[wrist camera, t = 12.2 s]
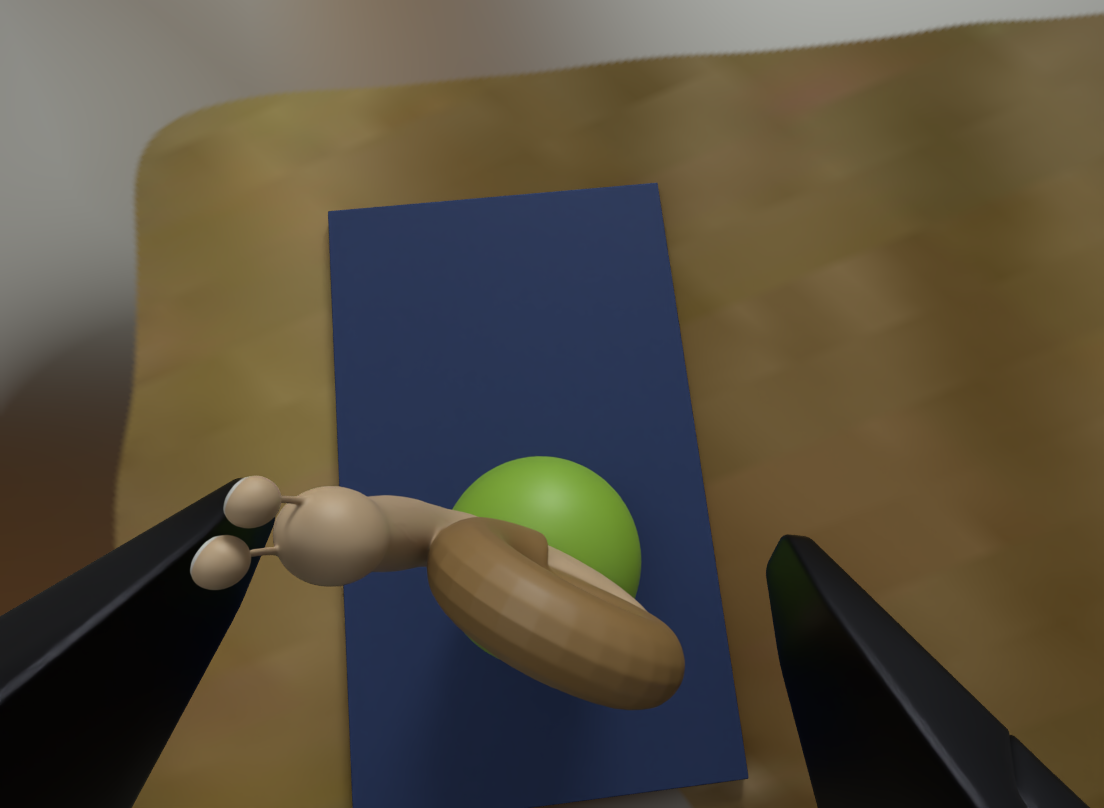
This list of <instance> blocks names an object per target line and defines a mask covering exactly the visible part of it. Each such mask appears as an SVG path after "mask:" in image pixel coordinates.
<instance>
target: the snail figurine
mask: <svg viewBox="0 0 1104 808" xmlns="http://www.w3.org/2000/svg"><path fill="white" fill-rule="evenodd" d="M281 503H287V504H286V505H285V506H284V507H283V508H282V510H281V511H280V513H279V514H278V516H277V518H276V521H275V524H274V528H273V542H274V547H267V548H260V549H253V550H249V548H248V546H247V545H246V543H245V542H244V541H242V540H241V539H239V538H237V537H235V536H231V535H222V536H216V537H213V538H211V539H209V540H208V541H207V542H205V543H204V544H203V545H202V546H201V547H200V549H199V550H198V551H197V553H196V554H195V556H194V558H193V560H192V563H191V568H190V573H191V576H192V579H193V581H194V582H195V583H196V584H197V585H199V586H200V587H202V588H205V589H209V590H221V589H225V588H228V587H230V586H232V585H234V584H236V583H237V582H239V581H240V580H241V579H242V578H243V577H244V576H245V574H246V573H247V571H248V569H249V567H250V563H251V557H254V556H262V555H276V556H278V557H279V559H280V561H281V562H282V564H283V565H284V566H285V567H286V569H287V570H288V571H289V572H291V573H292V574H293V575H294V576H296V577H297V578H299V579H301V580H303V581H305V582H308V583H310V584H314V585H319V586H341V585H346V584H350V583H353V582H355V581H358V580H360V579H362V578H363V577H365V576H367V575H368V574H369V573H371V572H393V571H401V570H407V569H412V568H416V567H427V576H428V582H429V586H430V589H431V592H432V594H433V596H434V597H435V599H436V601H437V602H438V604H439V605H440V607H441V608H442V610H443V611H444V612H445V614H446V615H447V616H448V617H449V618H450V619H451V620H452V621H453V622H454V624H455V625H456V626H457V627H458V628H460V629H461V630H462V631H463V632H464V633H465V634H466V635H467V636H468V638H469V639H470V640H471V641H473V642H474V643H475V644H476V645H477V646H478V647H480V648H481V649H482V650H484V651H485V652H487V653H488V654H490V655H492V656H494V657H496V658H498V659H500V660H502V661H503V662H505V663H506V664H508V665H509V666H511V667H513V668H515V669H516V670H518V671H520V672H522V673H524V674H525V675H527V676H529V677H531V678H533V679H535V680H537V681H539V682H541V683H543V684H545V685H548V686H550V687H552V688H555V689H557V690H560V691H562V692H565V693H567V694H569V695H572V696H575V697H577V698H580V699H583V700H586V701H589V702H592V703H595V704H598V705H602V706H606V707H610V708H615V709H623V710H643V709H650V708H655V707H657V706H659V705H661V704H663V703H664V702H666V701H667V700H669V699H670V698H671V697H672V696H673V695H674V694H675V693H676V691H677V690H678V688H679V687H680V685H681V683H682V680H683V677H684V671H685V659H684V654H683V650H682V647H681V644H680V642H679V640H678V638H677V637H676V635H675V634H674V632H673V631H672V630H671V629H670V628H669V627H668V626H667V625H666V624H665V623H664V622H662V621H661V620H660V619H658V618H657V617H655V616H654V615H652V614H650V613H649V612H647V611H646V610H645V609H644V607H643V606H642V605H641V604H639V603H638V602H637V601H636V600H635V597H636V593H637V590H638V586H639V581H640V574H641V549H640V542H639V537H638V533H637V529H636V526H635V523H634V521H633V518H632V516H631V514H630V512H629V510H628V508H627V506H626V505H625V503H624V502H623V500H622V499H621V497H620V496H619V495H618V493H617V492H616V491H615V490H614V489H613V488H612V487H611V486H610V485H609V484H608V483H607V482H606V481H605V480H604V479H603V478H601V477H600V476H599V475H597V474H596V473H594V472H593V471H591V470H590V469H588V468H586V467H584V466H582V465H580V464H577V463H575V462H572V461H569V460H565V459H561V458H556V457H547V456H534V457H525V458H520V459H516V460H512V461H509V462H506V463H504V464H501V465H499V466H497V467H495V468H493V469H491V470H490V471H488V472H487V473H485V474H484V475H482V476H481V477H480V478H478V479H477V480H476V481H475V482H474V483H473V484H472V485H470V486H469V487H468V489H467V490H466V491H465V492H464V493H463V494H462V496H461V497H460V498H459V500H458V501H457V503H456V504H455V506H454V507H453V509H452V510H450V509H446V508H443V507H440V506H436V505H433V504H429V503H426V502H423V501H420V500H417V499H413V498H408V497H401V496H391V495H381V496H370V497H367V496H365V495H364V494H362V493H360V492H358V491H355V490H352V489H349V488H345V487H338V486H324V487H318V488H314V489H311V490H308V491H306V492H304V493H302V494H300V495H298V496H296V497H294V496H281V493H280V490H279V489H278V487H277V486H276V484H275V483H274V482H272V481H271V480H269V479H267V478H265V477H261V476H251V477H246V478H243V479H241V480H240V481H238V482H237V483H236V484H235V485H234V486H233V487H232V488H231V490H230V491H229V493H228V494H227V496H226V498H225V501H224V508H223V509H224V514H225V515H226V518H227V519H228V520H229V521H230V522H231V523H232V524H234V525H236V526H238V527H242V528H256V527H260V526H262V525H264V524H266V523H268V522H269V521H271V520H272V519H273V518H274V517H275V516H276V514H277V513H278V511H279V509H280V506H281Z"/></svg>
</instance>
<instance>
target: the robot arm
mask: <svg viewBox="0 0 1104 808" xmlns="http://www.w3.org/2000/svg"><path fill="white" fill-rule="evenodd" d="M241 479H243V478H237V479H235V480H233V481H231V482H229V483H227V484H226V485H224V486H222V487H220V488H219V489H217V490H215V491H214V492H212V493H210V494H208V495H207V496H205V497H203V498H202V499H200V500H198V501H197V502H195V503H193V504H191V505H190V506H188V507H186V508H185V509H183V510H181V511H179V512H178V513H176V514H174V515H173V516H171V517H169V518H168V519H166V520H164V521H162V522H161V523H159V524H157V525H156V526H154V527H152V528H150V529H149V530H147V531H145V532H144V533H142V534H140V535H138V536H137V537H135V538H133V539H132V540H130V541H128V542H127V543H125V544H123V545H121V546H120V547H118V548H116V549H115V550H113V551H111V552H109V553H108V554H106V555H104V556H103V557H101V558H99V559H98V560H96V561H94V562H92V563H91V564H89V565H87V566H86V567H84V568H82V569H81V570H79V571H77V572H75V573H74V574H72V575H70V576H68V577H67V578H65V579H63V580H62V581H60V582H58V583H57V584H55V585H53V586H51V587H50V588H48V589H46V590H45V591H43V592H41V593H40V594H38V595H36V596H34V597H33V598H31V599H29V600H28V601H26V602H24V603H23V604H21V605H19V606H17V607H16V608H14V609H12V610H10V611H9V612H7V613H5V614H4V615H2V616H0V808H132V806H133V804H134V802H135V801H136V799H137V797H138V795H139V793H140V791H141V789H142V788H143V786H144V784H145V782H146V780H147V778H148V777H149V775H150V773H151V771H152V769H153V767H154V765H155V764H156V762H157V760H158V758H159V756H160V754H161V752H162V751H163V749H164V747H165V745H166V743H167V741H168V739H169V738H170V736H171V734H172V732H173V730H174V728H175V727H176V725H177V723H178V721H179V719H180V717H181V715H182V714H183V712H184V710H185V708H186V706H187V704H188V702H189V701H190V699H191V697H192V695H193V693H194V691H195V690H196V688H197V686H198V684H199V682H200V680H201V678H202V677H203V675H204V673H205V671H206V669H207V667H208V665H209V664H210V662H211V660H212V658H213V656H214V654H215V652H216V651H217V649H218V647H219V645H220V643H221V641H222V640H223V638H224V636H225V634H226V632H227V630H228V628H229V627H230V625H231V623H232V621H233V619H234V617H235V615H236V613H237V611H238V609H239V607H240V605H241V603H242V601H243V598H244V596H245V594H246V591H247V589H248V587H249V584H250V582H251V579H252V577H253V574H254V572H255V569H256V567H257V565H258V562H259V560H260V557H261V556H254V557H251V563H250V567H249V569H248V571H247V573H246V574H245V576H244V577H243V578H242V579H241V580H240V581H239V582H237V583H236V584H234V585H232V586H230V587H228V588H225V589H221V590H209V589H205V588H202V587H200V586H199V585H197V584H196V583H195V582H194V581H193V579H192V576H191V573H190V568H191V563H192V560H193V558H194V556H195V554H196V553H197V551H198V550H199V549H200V547H201V546H202V545H203V544H204V543H205V542H207V541H208V540H209V539H211V538H213V537H216V536H222V535H231V536H235V537H237V538H239V539H241V540H242V541H244V542H245V543H246V545H247V546H248V548H249V550H253V549H260V548H265V545H266V543H267V540H268V538H269V535H270V533H271V531H272V528H273V525H274V521H275V517H274V518H273V519H272V520H271V521H269V522H268V523H266V524H264V525H262V526H260V527H256V528H242V527H238V526H236V525H234V524H232V523H231V522H230V521H229V520H228V519H227V518H226V515H225V514H224V509H223V508H224V501H225V498H226V496H227V494H228V493H229V491H230V490H231V488H232V487H233V486H234V485H235V484H236V483H237V482H238V481H240V480H241ZM766 578H767V585H768V591H769V598H770V604H771V611H772V617H773V624H774V630H775V637H776V644H777V650H778V655H779V661H780V666H781V670H782V674H783V678H784V682H785V686H786V689H787V693H788V697H789V701H790V704H791V708H792V712H793V716H794V720H795V723H796V727H797V731H798V735H799V738H800V742H801V746H802V750H803V753H804V757H805V761H806V765H807V769H808V772H809V776H810V780H811V784H812V787H813V791H814V795H815V799H816V803H817V806H818V808H1090V807H1089V806H1087V805H1086V804H1085V803H1084V802H1083V801H1082V800H1081V799H1080V798H1079V797H1078V796H1077V795H1076V794H1075V793H1074V792H1073V791H1071V790H1070V789H1069V788H1068V787H1067V786H1066V785H1065V784H1064V783H1063V782H1062V781H1061V780H1060V779H1059V778H1058V777H1057V776H1056V775H1055V774H1053V773H1052V772H1051V771H1050V770H1049V769H1048V768H1047V767H1046V766H1045V765H1044V764H1043V763H1042V762H1041V761H1040V760H1039V759H1038V758H1037V757H1036V756H1035V755H1034V754H1033V753H1032V752H1031V751H1029V750H1028V749H1027V748H1026V747H1025V746H1024V745H1023V744H1022V743H1021V742H1020V741H1019V740H1018V739H1017V738H1016V737H1015V736H1013V735H1009V731H1008V729H1007V728H1006V727H1005V726H1004V725H1002V724H1001V723H1000V722H999V721H998V720H997V719H996V718H995V717H994V716H993V715H992V714H991V713H990V712H989V711H988V710H987V709H986V708H985V707H984V706H983V705H982V704H981V703H980V702H979V701H978V700H977V699H976V698H975V697H974V696H973V695H972V694H971V693H970V692H969V691H967V690H966V689H965V688H964V687H963V686H962V685H961V684H960V683H959V682H958V681H957V680H956V679H955V678H954V677H953V676H952V675H951V674H950V673H949V672H948V671H947V670H946V669H945V668H944V667H943V666H942V665H941V664H940V663H939V662H938V661H937V660H936V659H935V658H934V657H932V656H931V655H930V654H929V653H928V652H927V651H926V650H925V649H924V648H923V647H922V646H921V645H920V644H919V643H918V642H917V641H916V640H915V639H914V638H913V637H912V636H911V635H910V634H909V633H908V632H907V631H906V630H905V629H904V628H903V627H902V626H901V625H900V624H899V623H897V622H896V621H895V620H894V619H893V618H892V617H891V616H890V615H889V614H888V613H887V612H886V611H885V610H884V609H883V608H882V607H881V606H880V605H879V604H878V603H877V602H876V601H875V600H874V599H873V598H872V597H871V596H870V595H869V594H868V593H867V592H866V591H865V590H864V589H862V588H861V587H860V586H859V585H858V584H857V583H856V582H855V581H854V580H853V579H852V578H851V577H850V576H849V575H848V574H847V573H846V572H845V571H844V570H843V569H842V568H841V567H840V566H839V565H838V564H837V563H836V562H835V561H834V560H833V559H832V558H831V557H830V556H829V555H827V554H826V553H825V552H824V551H823V550H822V549H821V548H820V547H819V546H818V545H817V544H816V543H815V542H814V541H813V540H812V539H810V538H809V537H806V536H798V535H784V536H783V537H781V539H780V541H779V542H778V544H777V546H776V548H775V550H774V552H773V554H772V556H771V558H770V560H769V562H768V564H767V569H766Z"/></svg>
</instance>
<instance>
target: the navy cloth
mask: <svg viewBox="0 0 1104 808" xmlns="http://www.w3.org/2000/svg"><path fill="white" fill-rule="evenodd" d="M328 221H329V245H330V270H331V294H332V318H333V342H334V366H335V391H336V415H337V439H338V463H339V487H345V488H349V489H352V490H355V491H358V492H360V493H362V494H364V495H365V496H367V497H370V496H381V495H391V496H401V497H408V498H413V499H417V500H420V501H423V502H426V503H429V504H433V505H436V506H440V507H443V508H446V509H450V510H452V509H453V507H454V506H455V504H456V503H457V501H458V500H459V498H460V497H461V496H462V494H463V493H464V492H465V491H466V490H467V489H468V487H469V486H470V485H472V484H473V483H474V482H475V481H476V480H477V479H478V478H480V477H481V476H482V475H484V474H485V473H487V472H488V471H490V470H491V469H493V468H495V467H497V466H499V465H501V464H504V463H506V462H509V461H512V460H516V459H520V458H525V457H534V456H547V457H556V458H561V459H565V460H569V461H572V462H575V463H577V464H580V465H582V466H584V467H586V468H588V469H590V470H591V471H593V472H594V473H596V474H597V475H599V476H600V477H601V478H603V479H604V480H605V481H606V482H607V483H608V484H609V485H610V486H611V487H612V488H613V489H614V490H615V491H616V492H617V493H618V495H619V496H620V497H621V499H622V500H623V502H624V503H625V505H626V506H627V508H628V510H629V512H630V514H631V516H632V518H633V521H634V523H635V526H636V529H637V533H638V537H639V542H640V549H641V574H640V581H639V586H638V590H637V593H636V597H635V600H636V601H637V602H638V603H639V604H641V605H642V606H643V607H644V609H645V610H646V611H647V612H649V613H650V614H652V615H654V616H655V617H657V618H658V619H660V620H661V621H662V622H664V623H665V624H666V625H667V626H668V627H669V628H670V629H671V630H672V631H673V632H674V634H675V635H676V637H677V638H678V640H679V642H680V644H681V647H682V650H683V654H684V659H685V671H684V677H683V680H682V683H681V685H680V687H679V688H678V690H677V691H676V693H675V694H674V695H673V696H672V697H671V698H670V699H669V700H667V701H666V702H664V703H663V704H661V705H659V706H657V707H655V708H650V709H643V710H623V709H615V708H610V707H606V706H602V705H598V704H595V703H592V702H589V701H586V700H583V699H580V698H577V697H575V696H572V695H569V694H567V693H565V692H562V691H560V690H557V689H555V688H552V687H550V686H548V685H545V684H543V683H541V682H539V681H537V680H535V679H533V678H531V677H529V676H527V675H525V674H524V673H522V672H520V671H518V670H516V669H515V668H513V667H511V666H509V665H508V664H506V663H505V662H503V661H502V660H500V659H498V658H496V657H494V656H492V655H490V654H488V653H487V652H485V651H484V650H482V649H481V648H480V647H478V646H477V645H476V644H475V643H474V642H473V641H471V640H470V639H469V638H468V636H467V635H466V634H465V633H464V632H463V631H462V630H461V629H460V628H458V627H457V626H456V625H455V624H454V622H453V621H452V620H451V619H450V618H449V617H448V616H447V615H446V614H445V612H444V611H443V610H442V608H441V607H440V605H439V604H438V602H437V601H436V599H435V597H434V596H433V594H432V592H431V589H430V586H429V582H428V576H427V567H416V568H412V569H407V570H401V571H393V572H371V573H369V574H368V575H367V576H365V577H363V578H362V579H360V580H358V581H355V582H353V583H350V584H346V585H344V609H345V633H346V657H347V681H348V705H349V730H350V754H351V778H352V802H353V808H532V807H540V806H547V805H554V804H562V803H570V802H577V801H585V800H592V799H599V798H606V797H615V796H622V795H630V794H636V793H644V792H652V791H659V790H667V789H674V788H682V787H689V786H697V785H704V784H712V783H719V782H727V781H734V780H742V779H748V771H747V765H746V758H745V752H744V745H743V739H742V732H741V726H740V719H739V713H738V706H737V700H736V693H735V686H734V680H733V673H732V667H731V660H730V654H729V647H728V641H727V634H726V628H725V621H724V615H723V608H722V602H721V595H720V589H719V582H718V576H717V569H716V563H715V556H714V549H713V543H712V536H711V530H710V523H709V517H708V510H707V504H706V497H705V491H704V484H703V478H702V471H701V465H700V458H699V452H698V445H697V439H696V432H695V426H694V419H693V412H692V406H691V399H690V393H689V386H688V380H687V373H686V367H685V360H684V354H683V347H682V341H681V334H680V328H679V321H678V315H677V308H676V302H675V295H674V289H673V282H672V276H671V269H670V262H669V256H668V249H667V243H666V236H665V230H664V223H663V217H662V210H661V204H660V197H659V191H658V184H657V183H650V184H638V185H627V186H615V187H604V188H592V189H581V190H569V191H558V192H546V193H534V194H523V195H511V196H500V197H488V198H477V199H465V200H454V201H442V202H431V203H419V204H408V205H396V206H385V207H373V208H362V209H350V210H339V211H329V212H328Z"/></svg>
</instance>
